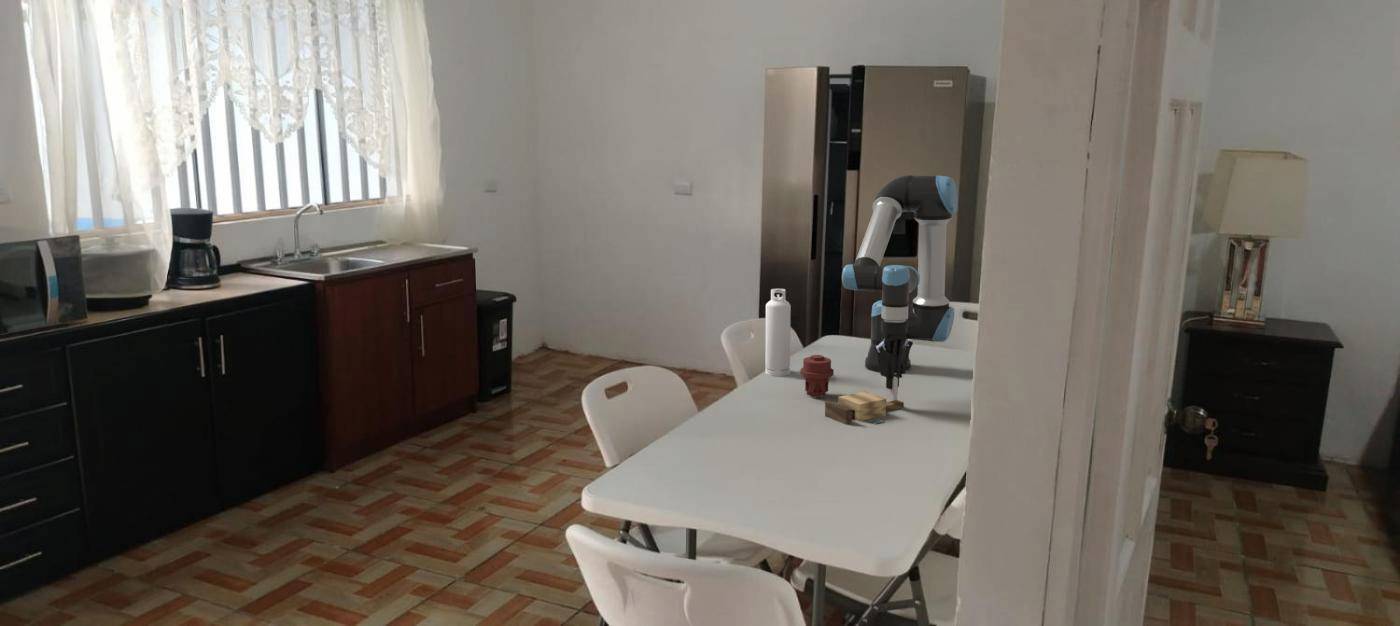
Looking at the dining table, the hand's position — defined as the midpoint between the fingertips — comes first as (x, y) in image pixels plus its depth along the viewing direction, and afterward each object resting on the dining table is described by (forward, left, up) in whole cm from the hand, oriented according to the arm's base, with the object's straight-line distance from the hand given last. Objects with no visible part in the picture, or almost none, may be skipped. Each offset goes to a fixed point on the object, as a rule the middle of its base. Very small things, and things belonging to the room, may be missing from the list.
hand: (892, 398), depth 283 cm
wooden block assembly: (+9, 0, -3) cm, 9 cm away
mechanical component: (+10, -22, -3) cm, 24 cm away
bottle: (+5, -50, -3) cm, 50 cm away
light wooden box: (+12, 0, -3) cm, 12 cm away
